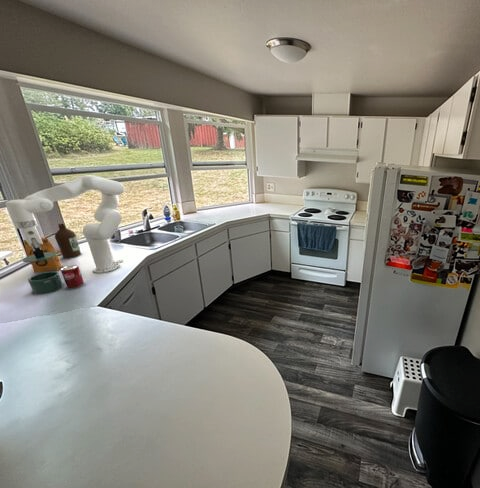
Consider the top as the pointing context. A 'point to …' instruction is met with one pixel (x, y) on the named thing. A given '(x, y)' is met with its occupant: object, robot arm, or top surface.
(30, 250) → the coffee package
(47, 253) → the lid
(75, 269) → the soda can
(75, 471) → the top surface
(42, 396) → the top surface
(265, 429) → the top surface
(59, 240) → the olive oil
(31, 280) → the pot
